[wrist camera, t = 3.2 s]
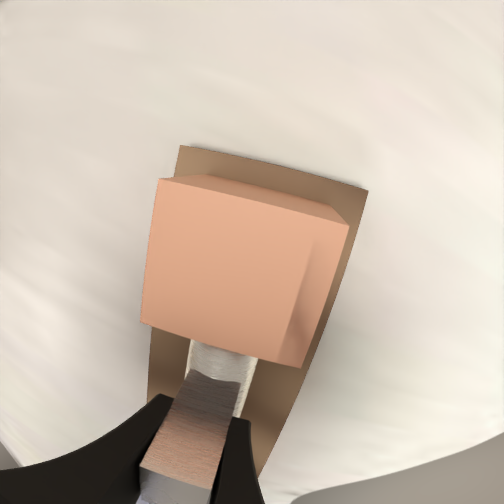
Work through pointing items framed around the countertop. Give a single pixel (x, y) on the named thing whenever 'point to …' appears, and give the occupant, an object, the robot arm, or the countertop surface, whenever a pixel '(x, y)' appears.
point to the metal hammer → (196, 426)
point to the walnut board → (266, 372)
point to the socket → (240, 266)
